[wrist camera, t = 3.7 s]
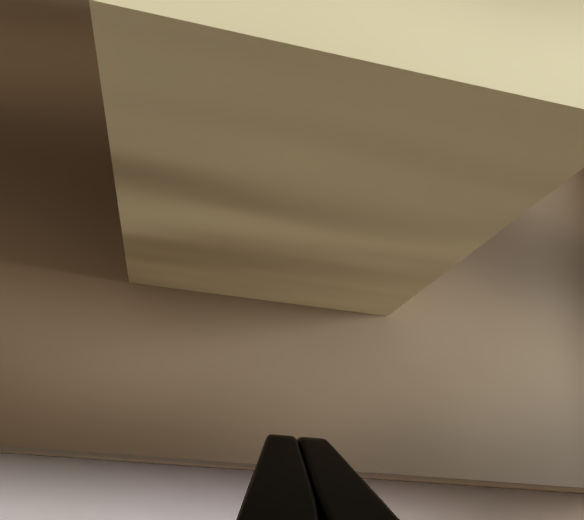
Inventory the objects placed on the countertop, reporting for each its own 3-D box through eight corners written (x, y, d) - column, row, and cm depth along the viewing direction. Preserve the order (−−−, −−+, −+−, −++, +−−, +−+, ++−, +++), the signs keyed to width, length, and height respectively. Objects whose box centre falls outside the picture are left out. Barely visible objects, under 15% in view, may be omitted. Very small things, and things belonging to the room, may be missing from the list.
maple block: (387, 316, 13) (642, 122, 6) (128, 282, 12) (89, -2, 5) (382, 61, 16) (546, -249, 9) (181, 16, 15) (199, -372, 8)
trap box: (672, 499, 16) (936, 505, 10) (-402, 424, 11) (-936, 361, 6) (556, -43, 25) (662, -184, 20) (-44, -209, 21) (-115, -455, 15)
